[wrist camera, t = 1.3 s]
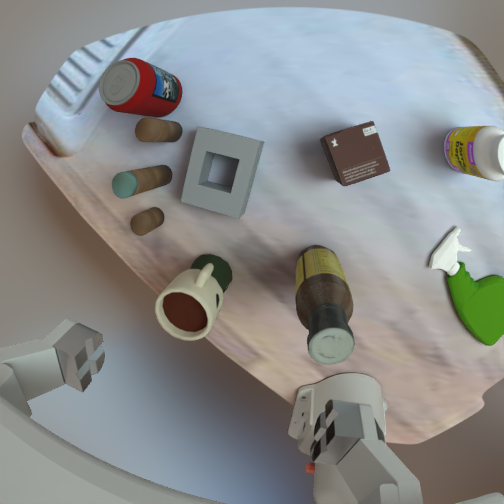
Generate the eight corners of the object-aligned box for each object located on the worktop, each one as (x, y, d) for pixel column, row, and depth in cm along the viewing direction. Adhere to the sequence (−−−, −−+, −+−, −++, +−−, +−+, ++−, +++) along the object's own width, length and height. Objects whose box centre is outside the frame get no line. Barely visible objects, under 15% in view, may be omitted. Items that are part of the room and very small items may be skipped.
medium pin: (179, 143, 40) (153, 144, 32) (161, 139, 40) (132, 139, 32) (184, 123, 39) (159, 119, 31) (165, 120, 39) (138, 115, 31)
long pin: (170, 187, 42) (131, 201, 32) (152, 182, 42) (110, 195, 32) (174, 167, 41) (135, 175, 31) (156, 163, 41) (114, 170, 31)
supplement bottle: (435, 136, 33) (483, 135, 21) (467, 121, 31) (519, 118, 19) (452, 179, 35) (501, 195, 23) (483, 163, 33) (535, 174, 21)
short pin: (162, 228, 44) (147, 238, 40) (145, 223, 44) (129, 232, 40) (165, 210, 43) (150, 217, 39) (148, 205, 43) (131, 212, 39)
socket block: (244, 212, 41) (239, 218, 38) (191, 196, 42) (180, 201, 38) (264, 142, 38) (260, 141, 34) (207, 128, 38) (197, 126, 35)
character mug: (219, 309, 47) (193, 360, 35) (179, 288, 47) (143, 332, 35) (249, 254, 43) (229, 295, 31) (206, 230, 43) (170, 262, 31)
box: (334, 181, 38) (342, 188, 31) (318, 138, 37) (323, 136, 30) (376, 167, 37) (391, 171, 30) (361, 125, 35) (374, 120, 28)
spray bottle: (480, 344, 43) (413, 268, 41) (517, 303, 39) (458, 216, 37) (486, 353, 40) (419, 276, 38) (525, 310, 36) (466, 221, 34)
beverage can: (194, 91, 37) (155, 73, 26) (163, 126, 39) (117, 122, 28) (163, 65, 36) (119, 44, 25) (134, 100, 38) (85, 91, 27)
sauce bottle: (314, 292, 44) (318, 387, 25) (287, 261, 43) (274, 346, 24) (349, 266, 42) (377, 352, 23) (322, 233, 41) (337, 304, 22)
